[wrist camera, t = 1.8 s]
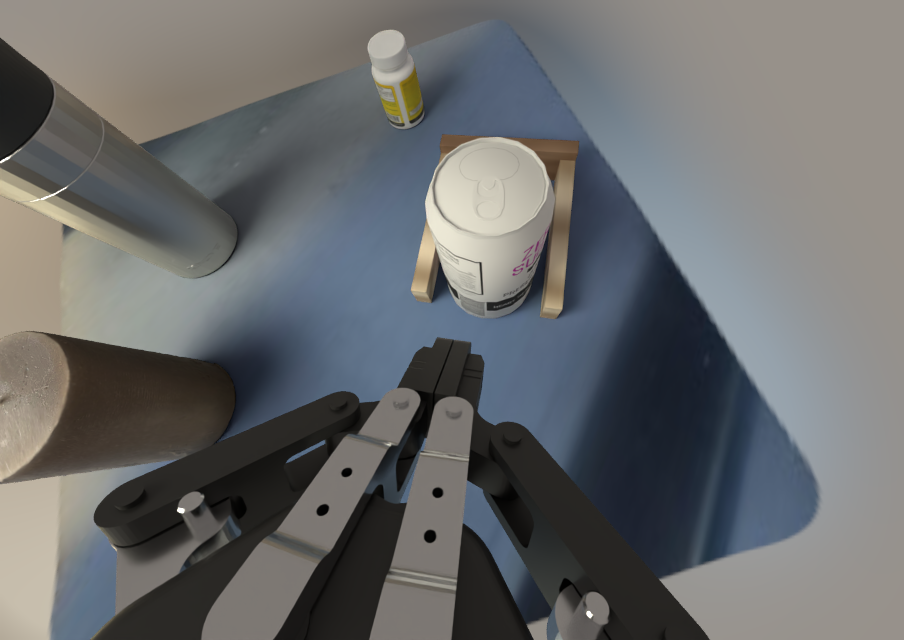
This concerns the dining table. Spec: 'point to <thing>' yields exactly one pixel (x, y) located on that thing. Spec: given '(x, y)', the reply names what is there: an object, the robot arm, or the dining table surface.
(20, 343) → the pillar candle
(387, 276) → the dining table surface
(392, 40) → the supplement bottle
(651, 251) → the dining table surface
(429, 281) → the bay
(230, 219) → the robot arm
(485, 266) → the supplement can
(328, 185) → the dining table surface
